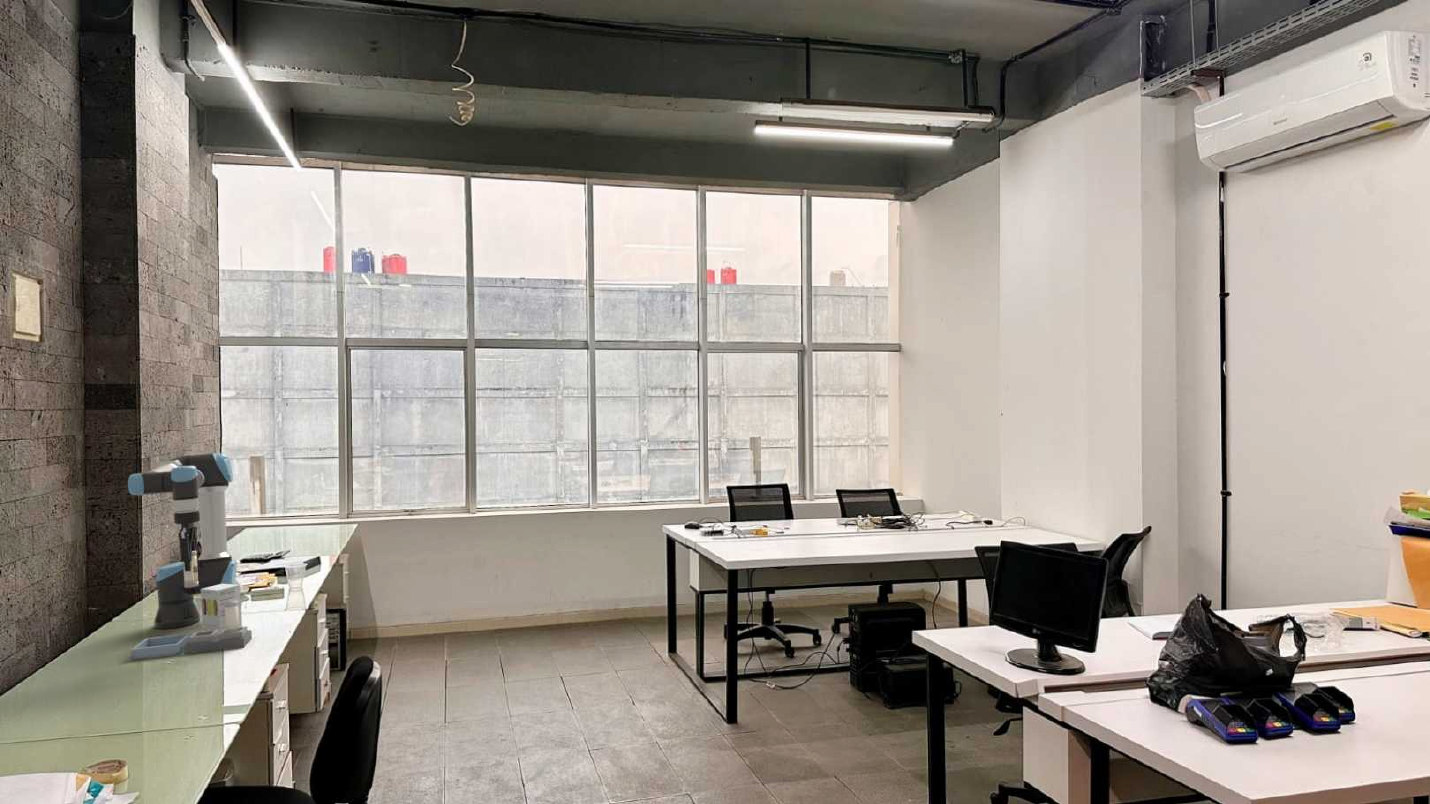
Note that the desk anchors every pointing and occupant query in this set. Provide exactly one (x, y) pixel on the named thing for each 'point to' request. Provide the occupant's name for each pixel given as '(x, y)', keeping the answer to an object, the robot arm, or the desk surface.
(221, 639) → the fuse holder
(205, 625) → the supplement box
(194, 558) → the fuse
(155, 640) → the parts tray
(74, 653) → the desk surface
